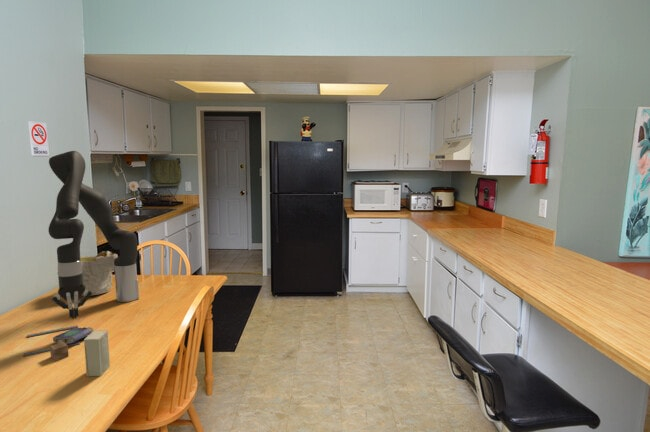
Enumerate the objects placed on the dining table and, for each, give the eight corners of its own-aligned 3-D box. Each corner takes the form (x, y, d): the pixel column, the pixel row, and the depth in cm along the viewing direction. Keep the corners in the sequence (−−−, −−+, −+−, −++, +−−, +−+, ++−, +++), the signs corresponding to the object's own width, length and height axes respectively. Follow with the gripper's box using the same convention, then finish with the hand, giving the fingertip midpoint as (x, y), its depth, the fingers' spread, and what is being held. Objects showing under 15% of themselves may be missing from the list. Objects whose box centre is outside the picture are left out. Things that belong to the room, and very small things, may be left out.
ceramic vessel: (42, 278, 188) (75, 235, 197) (88, 298, 204) (116, 257, 213) (57, 287, 173) (92, 240, 183) (105, 308, 189) (135, 263, 199)
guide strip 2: (79, 342, 139) (79, 341, 139) (79, 344, 138) (79, 342, 138) (23, 354, 130) (23, 353, 130) (23, 356, 129) (23, 355, 129)
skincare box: (96, 366, 123) (93, 330, 121) (110, 366, 123) (108, 330, 122) (85, 377, 117) (82, 339, 115) (101, 376, 117) (98, 338, 116)
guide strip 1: (77, 326, 153) (77, 325, 153) (77, 327, 152) (77, 326, 152) (27, 336, 144) (26, 335, 144) (26, 337, 143) (26, 336, 143)
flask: (93, 327, 144) (68, 339, 134) (94, 334, 144) (69, 347, 134) (73, 326, 146) (47, 338, 136) (74, 334, 147) (48, 346, 136)
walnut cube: (64, 352, 132) (63, 341, 131) (68, 356, 129) (67, 345, 129) (50, 357, 129) (49, 345, 128) (54, 361, 126) (53, 349, 126)
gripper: (90, 268, 149) (93, 311, 151) (48, 273, 141) (52, 318, 143) (92, 272, 142) (95, 317, 145) (48, 278, 135) (52, 325, 137)
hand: (74, 317), depth 144 cm, fingers closed
